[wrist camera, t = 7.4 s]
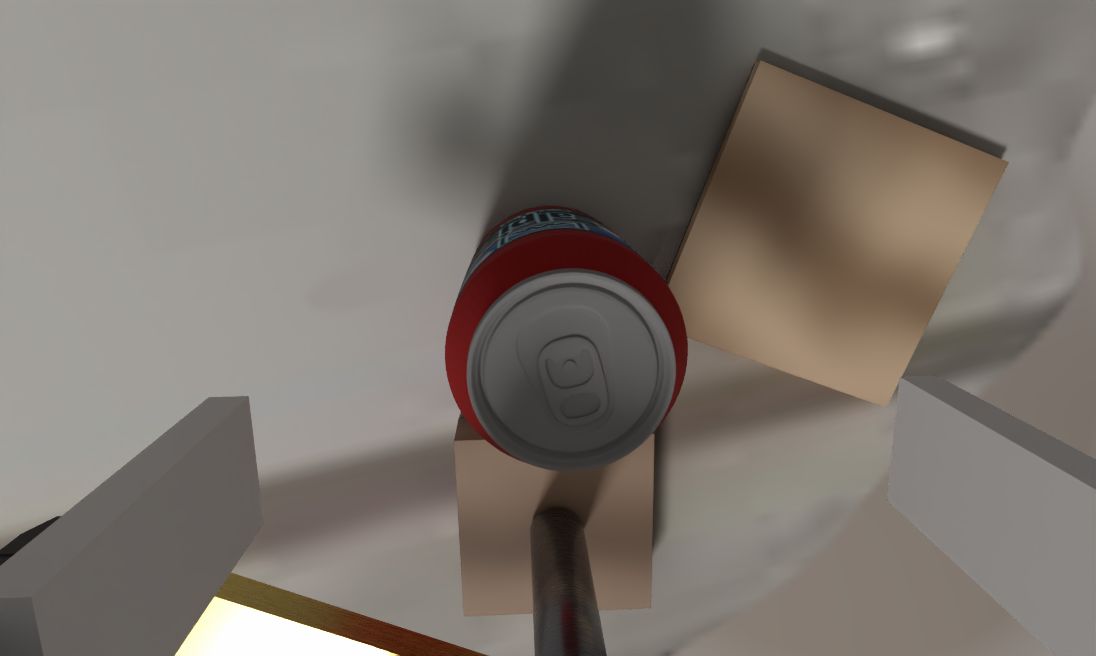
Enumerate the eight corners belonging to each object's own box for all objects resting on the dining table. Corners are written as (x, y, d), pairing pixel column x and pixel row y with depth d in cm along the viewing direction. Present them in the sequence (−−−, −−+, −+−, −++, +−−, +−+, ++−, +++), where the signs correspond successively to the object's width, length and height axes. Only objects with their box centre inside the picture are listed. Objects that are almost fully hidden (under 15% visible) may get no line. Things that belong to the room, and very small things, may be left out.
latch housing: (458, 417, 31) (454, 440, 29) (643, 411, 31) (654, 433, 29) (467, 582, 33) (463, 616, 31) (641, 574, 33) (651, 608, 31)
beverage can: (608, 183, 29) (672, 209, 17) (646, 340, 31) (727, 459, 19) (446, 228, 29) (402, 283, 18) (493, 381, 31) (480, 525, 19)
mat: (755, 62, 28) (760, 60, 28) (999, 162, 29) (1008, 162, 29) (649, 321, 30) (652, 324, 30) (879, 402, 32) (886, 407, 31)
